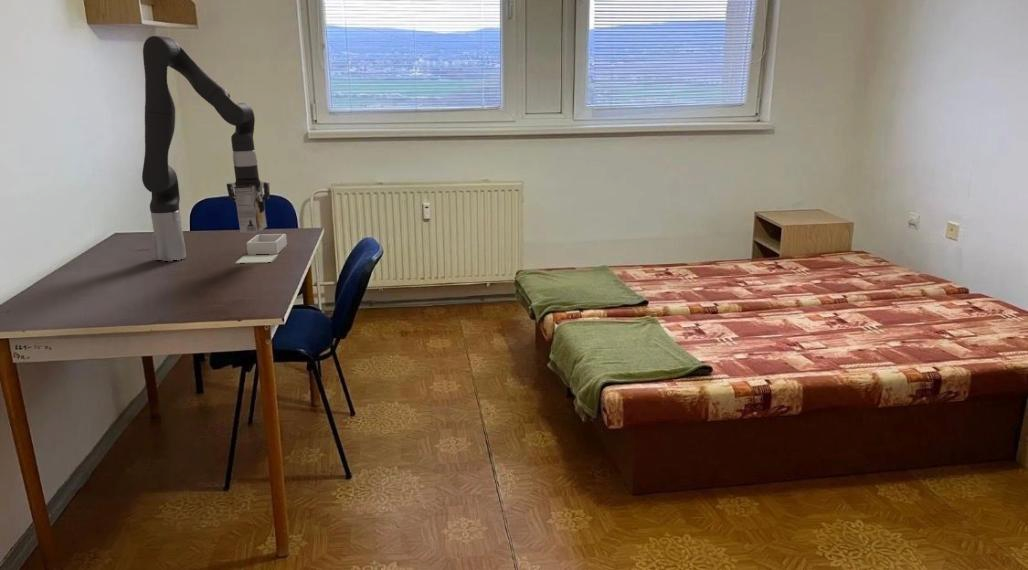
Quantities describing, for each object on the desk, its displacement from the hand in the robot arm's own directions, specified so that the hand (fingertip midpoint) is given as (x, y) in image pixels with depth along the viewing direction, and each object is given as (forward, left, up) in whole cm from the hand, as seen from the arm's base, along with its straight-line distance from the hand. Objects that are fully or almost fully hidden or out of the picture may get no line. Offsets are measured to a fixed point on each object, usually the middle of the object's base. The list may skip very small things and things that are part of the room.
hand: (251, 212), depth 251 cm
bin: (0, +14, -17) cm, 22 cm away
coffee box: (0, 0, -6) cm, 6 cm away
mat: (0, 0, -17) cm, 17 cm away
